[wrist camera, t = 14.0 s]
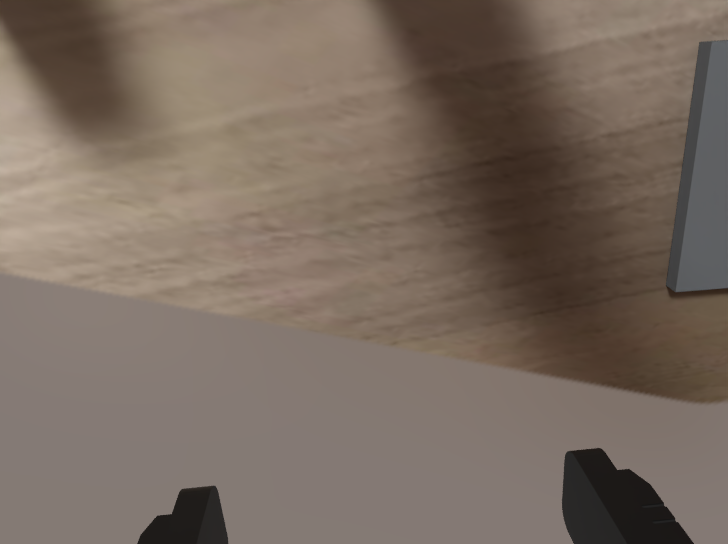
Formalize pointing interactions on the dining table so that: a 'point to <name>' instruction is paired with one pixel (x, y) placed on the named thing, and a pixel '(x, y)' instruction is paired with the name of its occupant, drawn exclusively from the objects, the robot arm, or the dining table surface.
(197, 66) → the dining table surface
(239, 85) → the dining table surface
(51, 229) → the dining table surface
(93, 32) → the dining table surface
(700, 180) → the socket block
